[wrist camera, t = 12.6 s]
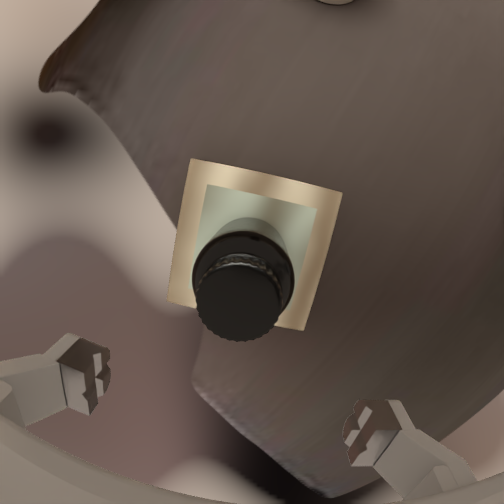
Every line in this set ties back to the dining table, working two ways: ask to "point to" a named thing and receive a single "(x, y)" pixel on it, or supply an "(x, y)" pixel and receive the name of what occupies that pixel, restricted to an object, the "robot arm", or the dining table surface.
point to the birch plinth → (261, 207)
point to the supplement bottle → (243, 279)
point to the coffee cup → (336, 1)
